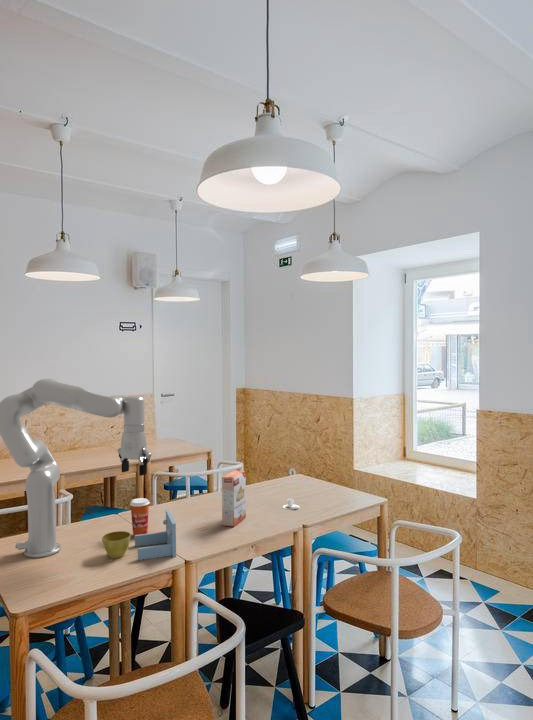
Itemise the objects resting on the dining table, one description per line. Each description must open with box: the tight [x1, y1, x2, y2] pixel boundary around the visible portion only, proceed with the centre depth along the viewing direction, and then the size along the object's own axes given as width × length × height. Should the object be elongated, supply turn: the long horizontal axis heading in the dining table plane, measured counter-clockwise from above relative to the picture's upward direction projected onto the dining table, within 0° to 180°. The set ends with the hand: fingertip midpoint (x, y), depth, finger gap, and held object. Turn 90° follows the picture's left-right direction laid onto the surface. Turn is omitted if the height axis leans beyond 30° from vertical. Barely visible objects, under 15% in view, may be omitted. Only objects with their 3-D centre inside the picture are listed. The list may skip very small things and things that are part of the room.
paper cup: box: [129, 497, 151, 538], centre depth 207 cm, size 8×8×14 cm
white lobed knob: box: [282, 498, 300, 510], centre depth 241 cm, size 9×8×4 cm
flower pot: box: [101, 530, 131, 559], centre depth 186 cm, size 10×10×7 cm
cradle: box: [134, 508, 177, 561], centre depth 190 cm, size 13×18×12 cm
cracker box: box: [221, 469, 247, 527], centre depth 222 cm, size 14×6×21 cm, turn 161°
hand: (134, 473), depth 196 cm, fingers open, 9 cm apart
